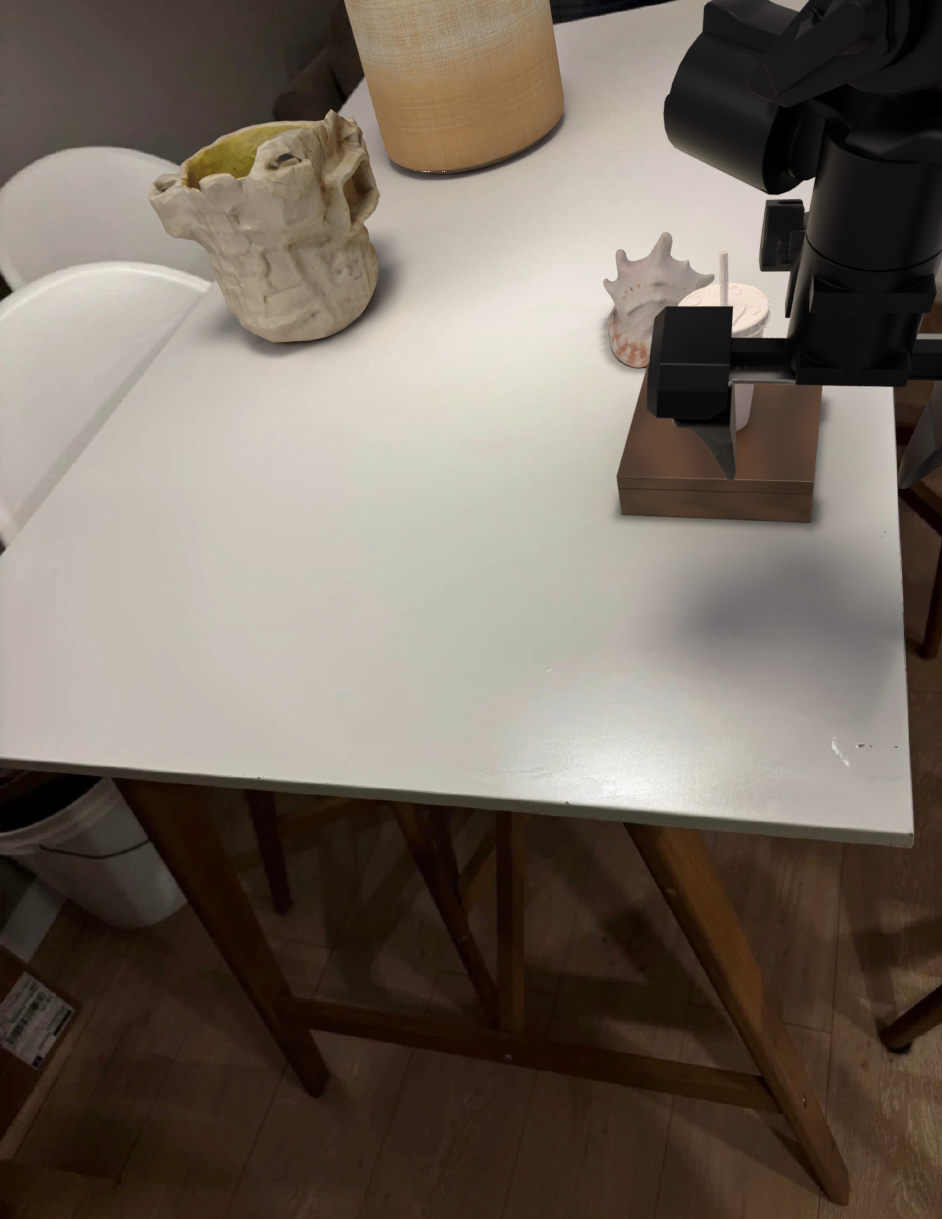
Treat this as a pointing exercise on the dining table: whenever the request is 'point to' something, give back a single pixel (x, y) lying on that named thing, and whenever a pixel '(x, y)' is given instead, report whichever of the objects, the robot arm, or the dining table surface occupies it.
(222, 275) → the ceramic vessel
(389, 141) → the planter
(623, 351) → the seashell
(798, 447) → the wooden jewelry box
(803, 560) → the dining table surface
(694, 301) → the smoothie
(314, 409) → the dining table surface
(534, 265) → the dining table surface
